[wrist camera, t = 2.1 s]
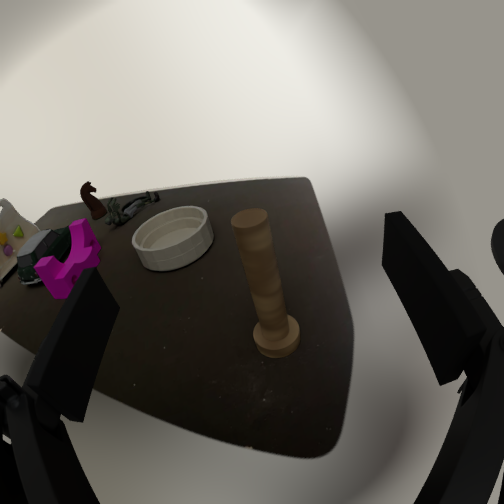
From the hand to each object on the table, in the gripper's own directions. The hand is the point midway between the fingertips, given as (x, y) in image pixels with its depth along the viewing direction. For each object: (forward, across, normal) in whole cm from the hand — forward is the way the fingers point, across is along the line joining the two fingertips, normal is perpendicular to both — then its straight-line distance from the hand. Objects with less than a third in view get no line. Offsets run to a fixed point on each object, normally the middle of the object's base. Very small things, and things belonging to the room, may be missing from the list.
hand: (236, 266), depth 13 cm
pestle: (+10, 0, -18) cm, 21 cm away
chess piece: (+56, -43, -18) cm, 73 cm away
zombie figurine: (+50, -30, -18) cm, 62 cm away
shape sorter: (+41, -67, -19) cm, 81 cm away
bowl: (+32, -15, -18) cm, 39 cm away
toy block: (+30, -35, -18) cm, 50 cm away
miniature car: (+36, -48, -18) cm, 63 cm away
